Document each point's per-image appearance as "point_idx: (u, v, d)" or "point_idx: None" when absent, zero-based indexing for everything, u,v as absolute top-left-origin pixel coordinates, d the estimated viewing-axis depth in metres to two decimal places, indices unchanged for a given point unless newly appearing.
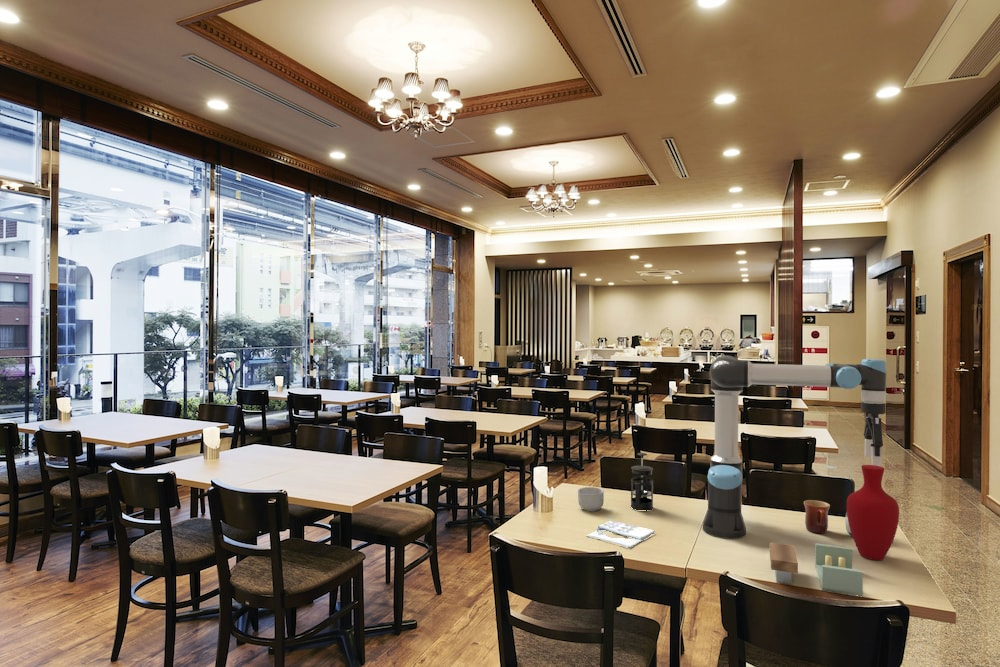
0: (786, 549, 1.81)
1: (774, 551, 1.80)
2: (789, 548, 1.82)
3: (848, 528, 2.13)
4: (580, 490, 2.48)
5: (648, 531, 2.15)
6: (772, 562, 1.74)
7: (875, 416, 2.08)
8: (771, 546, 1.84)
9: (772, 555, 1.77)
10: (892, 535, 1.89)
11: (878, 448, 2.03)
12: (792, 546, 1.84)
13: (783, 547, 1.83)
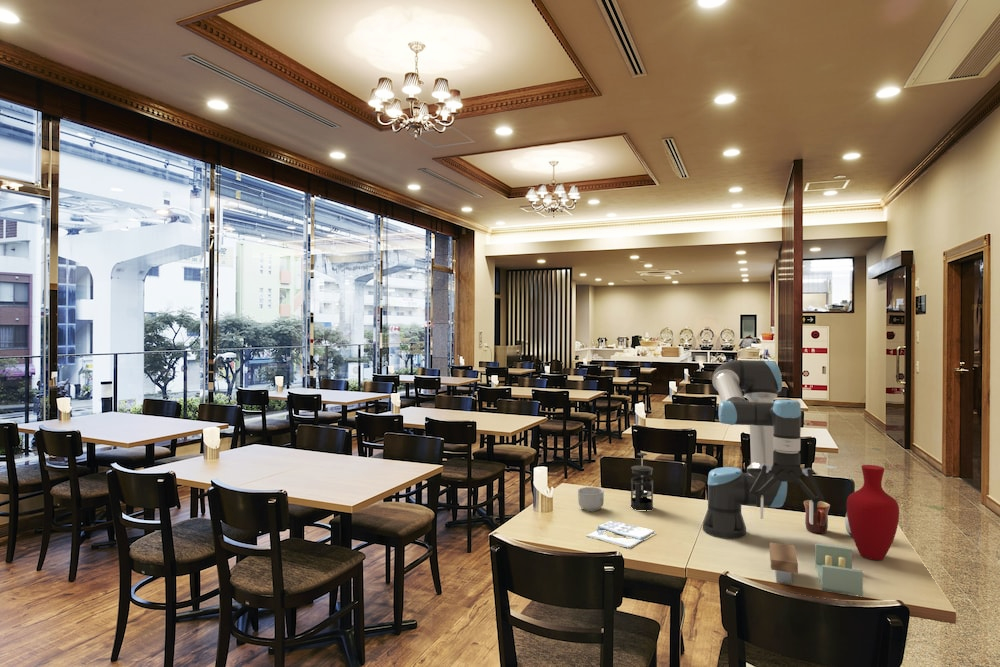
0: (786, 549, 1.81)
1: (774, 551, 1.80)
2: (789, 548, 1.82)
3: (848, 528, 2.13)
4: (580, 490, 2.48)
5: (648, 531, 2.15)
6: (772, 562, 1.74)
7: (773, 465, 1.81)
8: (771, 546, 1.84)
9: (772, 555, 1.77)
10: (892, 535, 1.89)
11: (756, 497, 1.82)
12: (792, 546, 1.84)
13: (783, 547, 1.83)
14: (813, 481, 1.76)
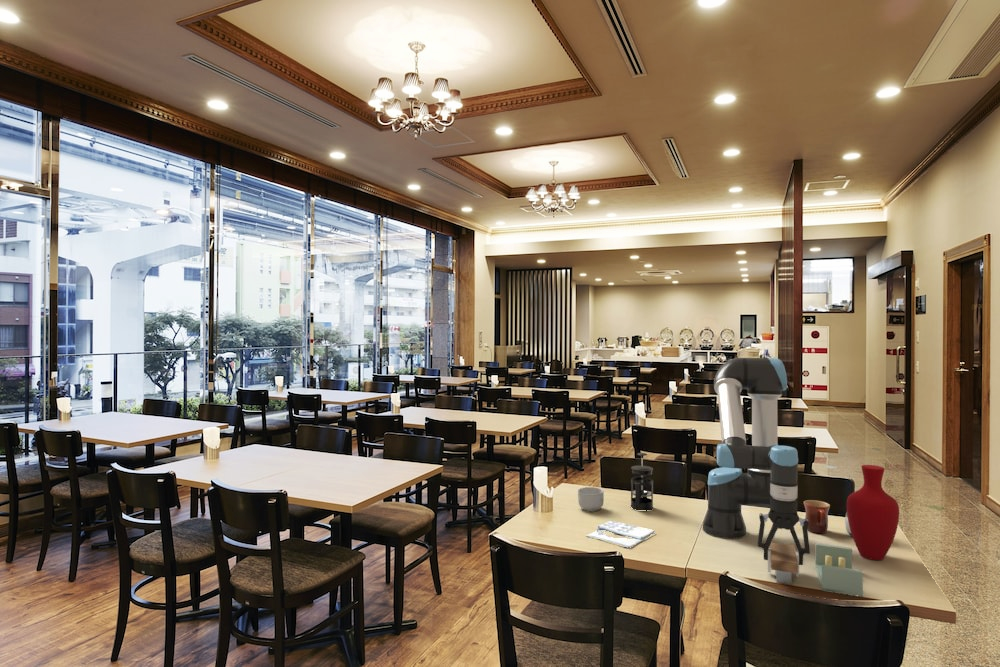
0: (786, 549, 1.81)
1: (774, 551, 1.80)
2: (789, 548, 1.82)
3: (848, 528, 2.13)
4: (580, 490, 2.48)
5: (648, 531, 2.15)
6: (772, 562, 1.74)
7: (769, 512, 1.81)
8: (771, 546, 1.84)
9: (772, 555, 1.77)
10: (892, 535, 1.89)
11: None
12: (792, 546, 1.84)
13: (783, 547, 1.83)
14: (806, 533, 1.76)
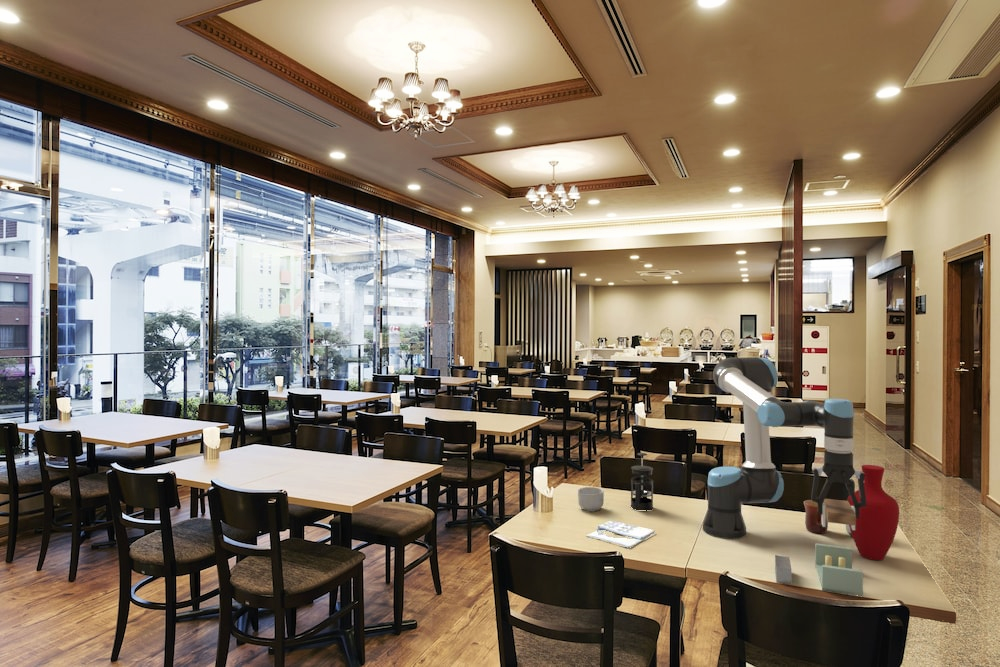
0: (841, 504, 1.79)
1: (829, 505, 1.77)
2: (844, 503, 1.79)
3: (848, 528, 2.13)
4: (580, 490, 2.48)
5: (648, 531, 2.15)
6: (829, 515, 1.71)
7: None
8: (825, 501, 1.81)
9: (828, 508, 1.74)
10: (892, 535, 1.89)
11: None
12: (846, 501, 1.81)
13: (837, 502, 1.80)
14: (862, 485, 1.73)
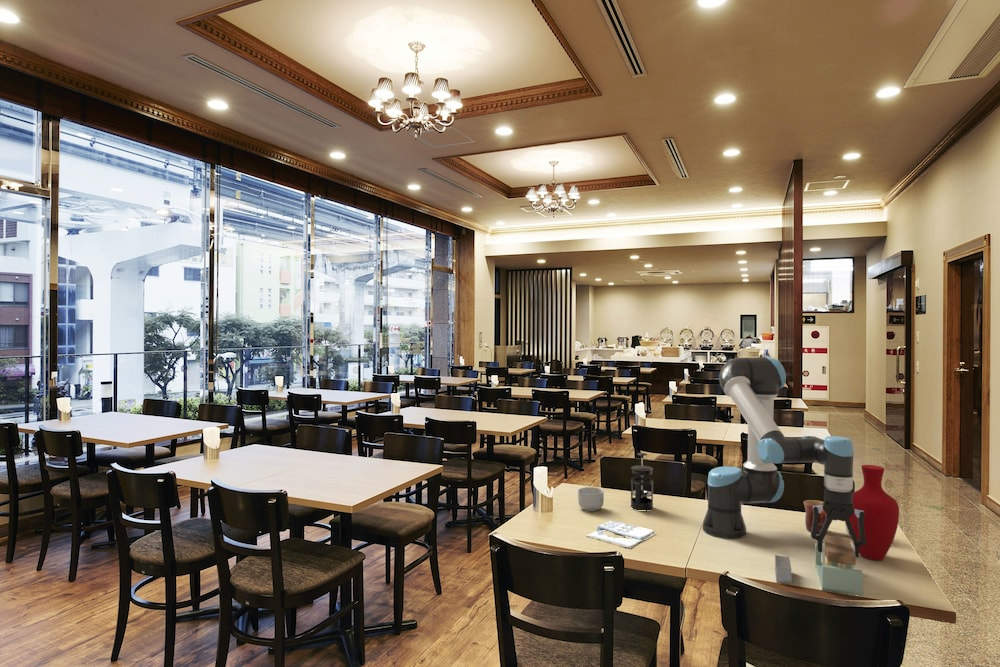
0: (840, 541, 1.79)
1: (829, 543, 1.77)
2: (844, 540, 1.80)
3: None
4: (580, 490, 2.48)
5: (648, 531, 2.15)
6: (829, 554, 1.71)
7: (823, 503, 1.78)
8: (824, 538, 1.82)
9: (827, 547, 1.74)
10: (892, 535, 1.89)
11: (817, 542, 1.79)
12: (846, 538, 1.82)
13: (836, 539, 1.81)
14: (862, 524, 1.73)
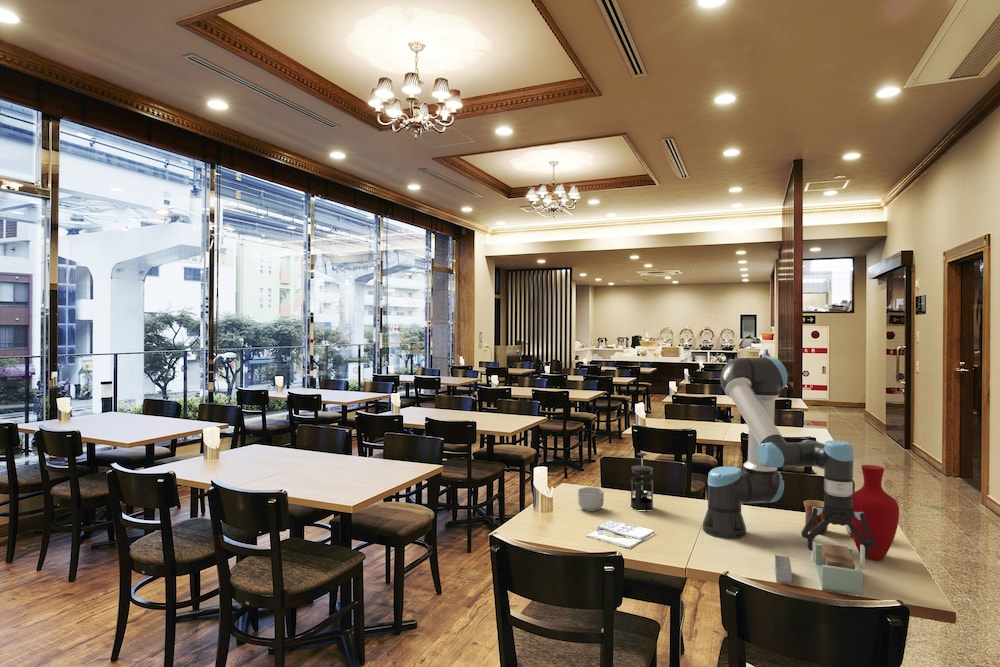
0: (840, 550, 1.79)
1: (828, 552, 1.78)
2: (843, 550, 1.80)
3: (848, 528, 2.13)
4: (580, 490, 2.48)
5: (648, 531, 2.15)
6: (828, 563, 1.71)
7: (824, 507, 1.78)
8: (824, 547, 1.82)
9: (827, 556, 1.74)
10: (892, 535, 1.89)
11: (808, 540, 1.80)
12: (845, 547, 1.82)
13: (836, 548, 1.81)
14: (866, 526, 1.73)
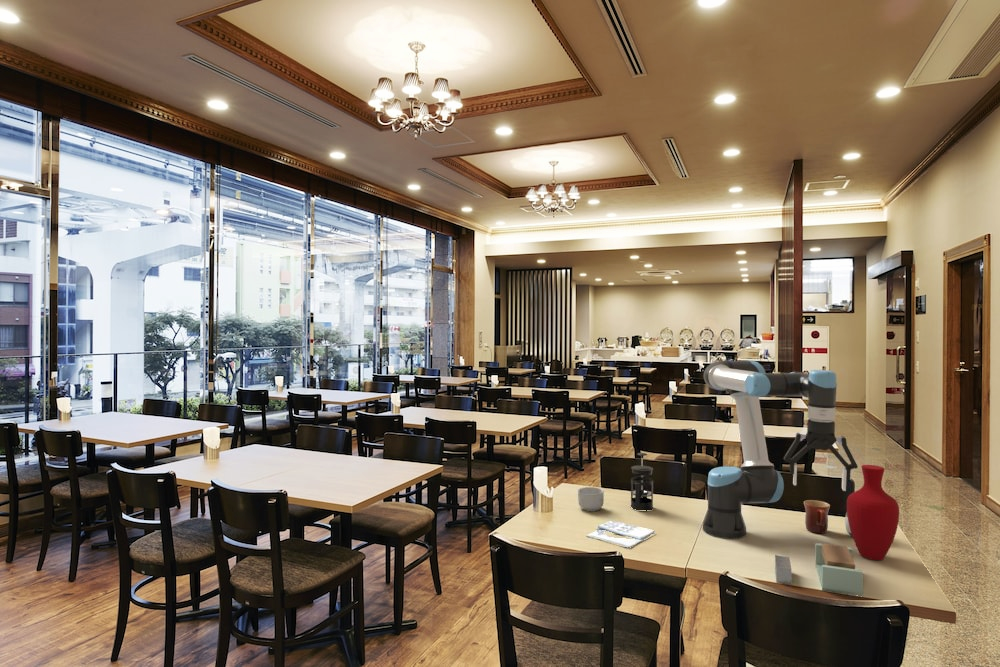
0: (840, 550, 1.79)
1: (828, 552, 1.78)
2: (843, 550, 1.80)
3: (848, 528, 2.13)
4: (580, 490, 2.48)
5: (648, 531, 2.15)
6: (828, 563, 1.71)
7: (807, 433, 1.85)
8: (824, 547, 1.82)
9: (827, 556, 1.74)
10: (892, 535, 1.89)
11: (790, 464, 1.87)
12: (845, 547, 1.82)
13: (836, 548, 1.81)
14: (847, 449, 1.80)
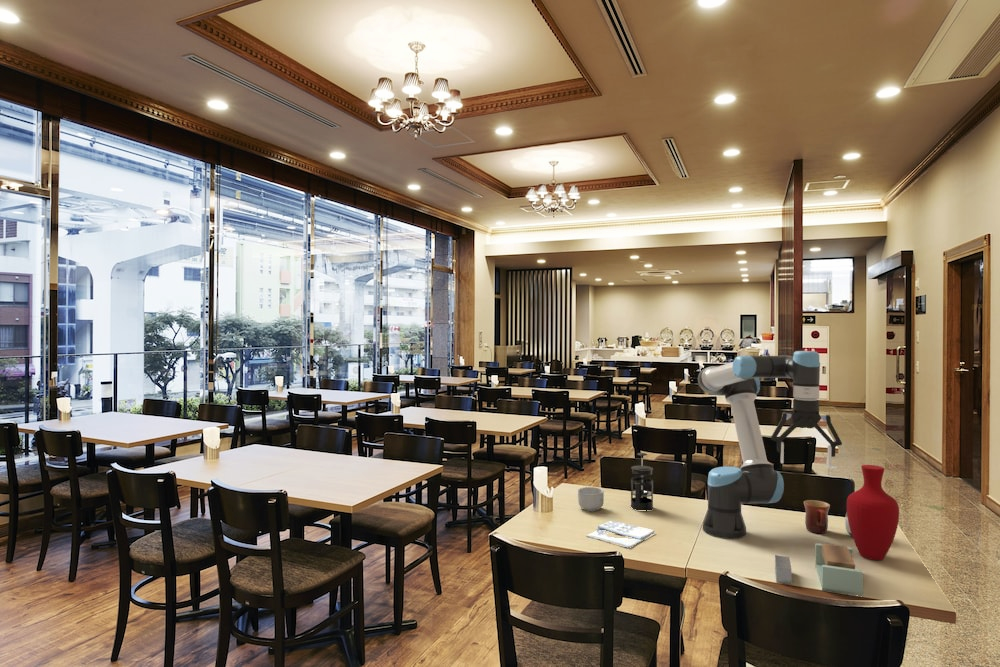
0: (840, 550, 1.79)
1: (828, 552, 1.78)
2: (843, 550, 1.80)
3: (848, 528, 2.13)
4: (580, 490, 2.48)
5: (648, 531, 2.15)
6: (828, 563, 1.71)
7: (793, 412, 1.91)
8: (824, 547, 1.82)
9: (827, 556, 1.74)
10: (892, 535, 1.89)
11: (777, 443, 1.93)
12: (845, 547, 1.82)
13: (836, 548, 1.81)
14: (831, 426, 1.86)
